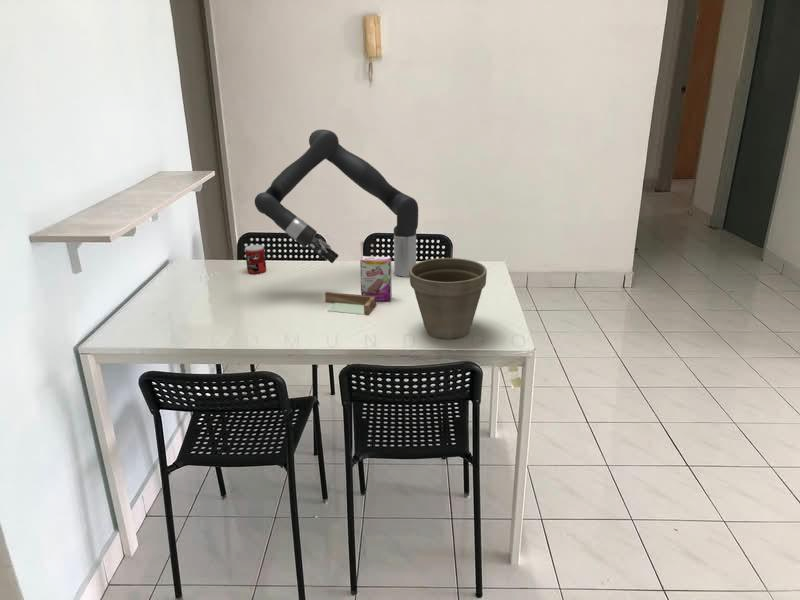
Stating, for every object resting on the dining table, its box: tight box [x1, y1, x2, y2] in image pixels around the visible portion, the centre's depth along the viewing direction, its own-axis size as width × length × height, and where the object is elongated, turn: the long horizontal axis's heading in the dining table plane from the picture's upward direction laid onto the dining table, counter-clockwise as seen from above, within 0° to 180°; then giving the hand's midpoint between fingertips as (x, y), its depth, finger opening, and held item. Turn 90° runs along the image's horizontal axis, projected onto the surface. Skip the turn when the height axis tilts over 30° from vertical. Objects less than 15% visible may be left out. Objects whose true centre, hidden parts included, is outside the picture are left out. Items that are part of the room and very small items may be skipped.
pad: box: [327, 303, 364, 315], centre depth 219 cm, size 8×14×1 cm, turn 75°
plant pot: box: [409, 257, 488, 340], centre depth 197 cm, size 25×25×22 cm
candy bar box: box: [359, 255, 393, 303], centre depth 225 cm, size 11×5×16 cm, turn 84°
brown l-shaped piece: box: [324, 291, 377, 316], centre depth 220 cm, size 10×20×4 cm, turn 75°
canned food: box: [244, 244, 267, 275], centre depth 258 cm, size 8×8×11 cm
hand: (335, 259), depth 223 cm, fingers open, 8 cm apart
